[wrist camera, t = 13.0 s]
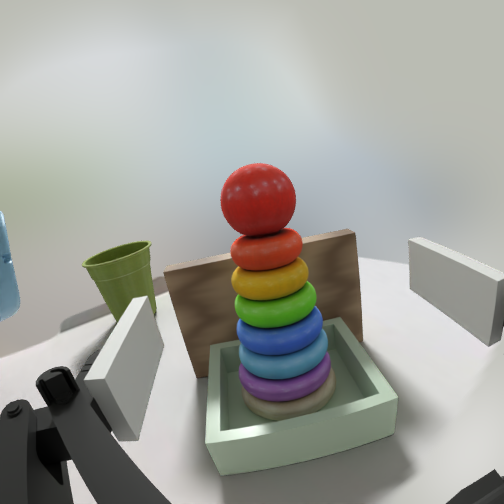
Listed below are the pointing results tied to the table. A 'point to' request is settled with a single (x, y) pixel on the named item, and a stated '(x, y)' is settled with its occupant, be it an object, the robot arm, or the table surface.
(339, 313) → the backstop wall
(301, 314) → the stacking toy
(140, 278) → the plant pot
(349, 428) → the mint green square tray
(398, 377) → the table surface
